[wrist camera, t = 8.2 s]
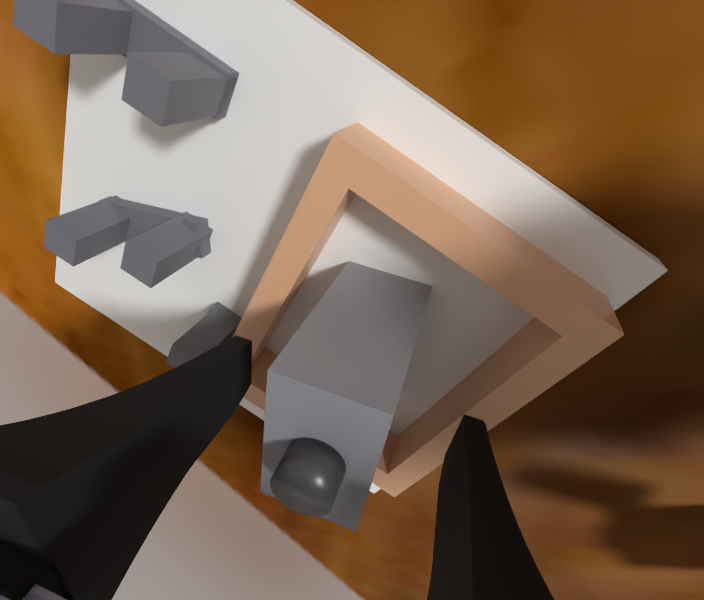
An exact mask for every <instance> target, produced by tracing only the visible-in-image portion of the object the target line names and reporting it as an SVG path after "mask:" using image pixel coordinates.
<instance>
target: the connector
mask: <svg viewBox="0 0 704 600" xmlns="http://www.w3.org/2000/svg"><path fill="white" fill-rule="evenodd" d="M431 289H432V286H431V285H427V284H424V283H421V282H417V281H414V280H411V279H407V278H404V277H401V276H397V275H394V274H390V273H387V272H384V271H380V270H377V269H374V268H370V267H367V266H364V265H360V264H357V263H354V262H350V261H349V262H348V263H347V264H346V266H345V267H344V268H343V270H342V271H341V272H340V274H339V275H338V276H337V278H336V279H335V280H334V282H333V283H332V284H331V286H330V287H329V288H328V290H327V291H326V292H325V294H324V295H323V296H322V298H321V299H320V300H319V302H318V303H317V304H316V306H315V307H314V308H313V310H312V311H311V312H310V314H309V315H308V316H307V318H306V319H305V320H304V322H303V323H302V325H301V326H300V327H299V329H298V330H297V331H296V333H295V334H294V335H293V337H292V338H291V339H290V341H289V342H288V343H287V345H286V346H285V347H284V349H283V350H282V351H281V353H280V354H279V355H278V357H277V358H276V359H275V361H274V362H273V363H272V365H271V366H270V367H269V369H268V370H267V386H266V403H265V420H264V438H263V455H262V472H261V489H260V492H262V493H264V494H266V495H269V496H271V497H274V498H276V499H278V500H279V501H280V502H281V503H282V504H284V505H285V506H286V507H288V508H289V509H291V510H293V511H295V512H297V513H300V514H303V515H306V516H311V517H321V518H324V519H326V520H329V521H331V522H333V523H336V524H338V525H340V526H343V527H345V528H348V529H350V530H352V531H355V532H356V529H357V526H358V523H359V520H360V517H361V514H362V511H363V508H364V505H365V502H366V499H367V496H368V493H369V490H370V487H371V484H372V481H373V478H374V475H375V472H376V469H377V466H378V463H379V460H380V457H381V454H382V451H383V448H384V444H385V441H386V438H387V435H388V432H389V429H390V426H391V423H392V420H393V417H394V414H395V411H396V407H397V404H398V400H399V397H400V394H401V390H402V387H403V384H404V380H405V377H406V373H407V370H408V367H409V363H410V360H411V357H412V353H413V350H414V346H415V343H416V340H417V336H418V333H419V330H420V326H421V323H422V319H423V316H424V313H425V309H426V306H427V303H428V299H429V296H430V292H431Z"/></svg>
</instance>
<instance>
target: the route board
mask: <svg viewBox="0 0 704 600" xmlns="http://www.w3.org/2000/svg"><path fill="white" fill-rule="evenodd" d="M14 26H15V27H16V28H18V29H19V30H20V31H22V32H23V33H25V34H26V35H28V36H29V37H31V38H32V39H34V40H35V41H36V42H38V43H39V44H41V45H42V46H44V47H45V48H47V49H48V50H50V51H51V52H53V53H54V54H71V56H70V71H69V85H68V100H67V114H66V129H65V144H64V158H63V173H62V187H61V202H60V215H59V216H56V217H54V218H51V219H48V220H45V240H44V247H45V248H46V249H48V250H49V251H51V252H52V253H54V254H55V255H57V260H56V274H55V283H57V284H58V285H60V286H61V287H63V288H64V289H66V290H67V291H69V292H70V293H72V294H73V295H75V296H76V297H78V298H79V299H81V300H82V301H84V302H85V303H87V304H88V305H90V306H92V307H93V308H95V309H96V310H98V311H99V312H101V313H102V314H104V315H105V316H107V317H108V318H110V319H111V320H113V321H114V322H116V323H117V324H119V325H120V326H122V327H123V328H125V329H126V330H128V331H129V332H131V333H132V334H134V335H135V336H137V337H138V338H140V339H141V340H143V341H144V342H146V343H147V344H149V345H150V346H152V347H153V348H155V349H156V350H158V351H159V352H161V353H162V354H164V355H165V356H167V357H168V358H167V361H166V364H168V365H169V366H171V367H172V368H176V367H178V366H180V365H182V364H184V363H186V362H188V361H189V360H191V359H193V358H195V357H197V356H199V355H201V354H203V353H204V352H206V351H208V350H210V349H212V348H214V347H215V346H217V345H219V344H221V343H223V342H224V341H226V340H228V339H230V338H232V337H233V335H234V333H235V331H236V329H237V327H238V325H239V323H240V321H241V319H242V317H243V315H244V313H245V311H246V309H247V307H248V305H249V303H250V301H251V299H252V297H253V295H254V293H255V291H256V289H257V287H258V285H259V283H260V281H261V279H262V277H263V275H264V273H265V271H266V269H267V267H268V265H269V263H270V261H271V259H272V257H273V255H274V253H275V251H276V249H277V247H278V245H279V243H280V241H281V239H282V237H283V235H284V233H285V231H286V229H287V227H288V225H289V223H290V221H291V219H292V217H293V215H294V213H295V211H296V209H297V207H298V205H299V203H300V201H301V199H302V197H303V195H304V193H305V191H306V189H307V187H308V184H309V182H310V180H311V178H312V176H313V174H314V172H315V170H316V168H317V166H318V164H319V162H320V160H321V158H322V156H323V154H324V152H325V150H326V148H327V146H328V144H329V142H330V140H331V138H332V136H333V134H334V132H336V131H339V130H341V129H343V128H345V127H348V126H350V125H352V124H354V123H357V122H358V123H360V124H361V125H363V126H364V127H366V128H367V129H368V130H370V131H371V132H373V133H374V134H376V135H377V136H378V137H380V138H381V139H383V140H384V141H386V142H387V143H388V144H390V145H391V146H393V147H394V148H396V149H397V150H398V151H400V152H401V153H403V154H404V155H406V156H407V157H408V158H410V159H411V160H413V161H414V162H416V163H417V164H418V165H420V166H421V167H423V168H424V169H426V170H427V171H428V172H430V173H431V174H433V175H434V176H436V177H437V178H438V179H440V180H441V181H443V182H444V183H446V184H447V185H448V186H450V187H451V188H453V189H454V190H456V191H457V192H458V193H460V194H461V195H463V196H464V197H466V198H467V199H468V200H470V201H471V202H473V203H474V204H476V205H477V206H478V207H480V208H481V209H483V210H484V211H486V212H487V213H488V214H490V215H491V216H493V217H494V218H496V219H497V220H498V221H500V222H501V223H503V224H504V225H506V226H507V227H508V228H510V229H511V230H513V231H514V232H516V233H517V234H518V235H520V236H521V237H523V238H524V239H526V240H527V241H528V242H530V243H531V244H533V245H534V246H536V247H537V248H538V249H540V250H541V251H543V252H544V253H546V254H547V255H548V256H550V257H551V258H553V259H554V260H556V261H557V262H558V263H560V264H561V265H563V266H564V267H566V268H567V269H568V270H570V271H571V272H573V273H574V274H576V275H577V276H578V277H580V278H581V279H583V280H584V281H586V282H587V283H589V284H590V285H591V286H593V287H594V288H596V289H597V290H599V291H600V292H601V293H603V294H604V295H606V296H607V297H608V299H609V301H610V303H611V306H612V308H613V310H614V311H615V310H617V309H618V308H619V307H621V306H622V305H623V304H625V303H626V302H627V301H629V300H630V299H631V298H633V297H634V296H635V295H636V294H638V293H639V292H640V291H642V290H643V289H644V288H646V287H647V286H648V285H650V284H651V283H652V282H654V281H655V280H656V279H658V278H659V277H660V276H662V275H663V274H664V273H665V272H667V271H668V270H667V269H666V268H665V266H664V265H663V264H662V263H661V261H660V260H659V259H658V258H657V257H655V256H654V255H652V254H651V253H650V252H648V251H647V250H645V249H644V248H642V247H641V246H640V245H638V244H637V243H635V242H634V241H633V240H631V239H630V238H628V237H627V236H626V235H624V234H623V233H621V232H620V231H618V230H617V229H616V228H614V227H613V226H611V225H610V224H609V223H607V222H606V221H604V220H603V219H601V218H600V217H599V216H597V215H596V214H594V213H593V212H592V211H590V210H589V209H587V208H586V207H585V206H583V205H582V204H580V203H579V202H577V201H576V200H575V199H573V198H572V197H570V196H569V195H568V194H566V193H565V192H563V191H562V190H560V189H559V188H558V187H556V186H555V185H553V184H552V183H551V182H549V181H548V180H546V179H545V178H544V177H542V176H541V175H539V174H538V173H536V172H535V171H534V170H532V169H531V168H529V167H528V166H527V165H525V164H524V163H522V162H521V161H520V160H518V159H517V158H515V157H514V156H512V155H511V154H510V153H508V152H507V151H505V150H504V149H503V148H501V147H500V146H498V145H497V144H495V143H494V142H493V141H491V140H490V139H488V138H487V137H486V136H484V135H483V134H481V133H480V132H479V131H477V130H476V129H474V128H473V127H471V126H470V125H469V124H467V123H466V122H464V121H463V120H462V119H460V118H459V117H457V116H456V115H454V114H453V113H452V112H450V111H449V110H447V109H446V108H445V107H443V106H442V105H440V104H439V103H438V102H436V101H435V100H433V99H432V98H430V97H429V96H428V95H426V94H425V93H423V92H422V91H421V90H419V89H418V88H416V87H415V86H413V85H412V84H411V83H409V82H408V81H406V80H405V79H404V78H402V77H401V76H399V75H398V74H397V73H395V72H394V71H392V70H391V69H389V68H388V67H387V66H385V65H384V64H382V63H381V62H380V61H378V60H377V59H375V58H374V57H372V56H371V55H370V54H368V53H367V52H365V51H364V50H363V49H361V48H360V47H358V46H357V45H356V44H354V43H353V42H351V41H350V40H348V39H347V38H346V37H344V36H343V35H341V34H340V33H339V32H337V31H336V30H334V29H333V28H331V27H330V26H329V25H327V24H326V23H324V22H323V21H322V20H320V19H319V18H317V17H316V16H315V15H313V14H312V13H310V12H309V11H307V10H306V9H305V8H303V7H302V6H300V5H299V4H298V3H296V2H295V1H293V0H14ZM349 261H350V262H354V263H357V264H360V265H364V266H367V267H370V268H374V269H377V270H380V271H384V272H387V273H390V274H394V275H397V276H401V277H404V278H407V279H411V280H414V281H417V282H421V283H424V284H427V285H431V286H432V289H431V292H430V296H429V299H428V303H427V306H426V309H425V313H424V316H423V319H422V323H421V326H420V330H419V333H418V336H417V340H416V343H415V346H414V350H413V353H412V357H411V360H410V363H409V367H408V370H407V373H406V377H405V380H404V384H403V387H402V390H401V394H400V397H399V400H398V404H397V407H396V411H395V414H394V417H393V420H392V423H391V426H390V429H389V430H390V431H391V432H393V433H394V434H396V435H397V436H398V435H399V434H400V433H401V432H403V431H404V430H405V429H406V428H407V427H408V426H410V425H411V424H412V423H413V422H414V421H415V420H416V419H418V418H419V417H420V416H421V415H422V414H423V413H425V412H426V411H427V410H428V409H429V408H430V407H432V406H433V405H434V404H435V403H436V402H437V401H438V400H440V399H441V398H442V397H443V396H444V395H445V394H447V393H448V392H449V391H450V390H451V389H452V388H454V387H455V386H456V385H457V384H458V383H459V382H460V381H462V380H463V379H464V378H465V377H466V376H467V375H469V374H470V373H471V372H472V371H473V370H474V369H475V368H477V367H478V366H479V365H480V364H481V363H482V362H484V361H485V360H486V359H487V358H488V357H489V356H491V355H492V354H493V353H494V352H495V351H496V350H497V349H499V348H500V347H501V346H502V345H503V344H504V343H506V342H507V341H508V340H509V339H510V338H511V337H513V336H514V335H515V334H516V333H517V332H518V331H519V330H521V329H522V328H523V327H524V326H525V325H526V324H528V323H529V322H530V321H531V320H532V319H533V318H534V316H532V315H531V314H529V313H528V312H526V311H525V310H524V309H522V308H521V307H519V306H518V305H516V304H515V303H513V302H512V301H511V300H509V299H508V298H506V297H505V296H503V295H502V294H500V293H499V292H498V291H496V290H495V289H493V288H492V287H490V286H489V285H487V284H486V283H485V282H483V281H482V280H480V279H479V278H477V277H476V276H474V275H473V274H472V273H470V272H469V271H467V270H466V269H464V268H463V267H461V266H460V265H459V264H457V263H456V262H454V261H453V260H451V259H450V258H448V257H447V256H446V255H444V254H443V253H441V252H440V251H438V250H437V249H435V248H434V247H433V246H431V245H430V244H428V243H427V242H425V241H424V240H422V239H421V238H419V237H418V236H417V235H415V234H414V233H412V232H411V231H409V230H408V229H406V228H405V227H404V226H402V225H401V224H399V223H398V222H396V221H395V220H393V219H392V218H391V217H389V216H388V215H386V214H385V213H383V212H382V211H380V210H379V209H378V208H376V207H375V206H373V205H372V204H370V203H369V202H367V201H366V200H365V199H363V198H362V197H360V196H359V195H357V194H355V196H354V197H353V199H352V201H351V202H350V204H349V206H348V208H347V209H346V211H345V213H344V214H343V216H342V218H341V219H340V221H339V223H338V225H337V226H336V228H335V230H334V231H333V233H332V235H331V236H330V238H329V240H328V242H327V243H326V245H325V247H324V248H323V250H322V252H321V253H320V255H319V257H318V259H317V260H316V262H315V264H314V265H313V267H312V269H311V270H310V272H309V274H308V275H307V277H306V279H305V281H304V282H303V284H302V286H301V287H300V289H299V291H298V292H297V294H296V296H295V298H294V299H293V301H292V303H291V304H290V306H289V308H288V309H287V311H286V313H285V315H284V316H283V318H282V320H281V321H280V323H279V325H278V326H277V328H276V330H275V332H274V333H273V335H272V337H271V338H270V340H269V342H268V343H267V345H266V348H268V349H269V350H270V351H272V352H273V353H275V354H276V355H279V354H280V353H281V351H282V350H283V349H284V347H285V346H286V345H287V343H288V342H289V341H290V339H291V338H292V337H293V335H294V334H295V333H296V331H297V330H298V329H299V327H300V326H301V325H302V323H303V322H304V320H305V319H306V318H307V316H308V315H309V314H310V312H311V311H312V310H313V308H314V307H315V306H316V304H317V303H318V302H319V300H320V299H321V298H322V296H323V295H324V294H325V292H326V291H327V290H328V288H329V287H330V286H331V284H332V283H333V282H334V280H335V279H336V278H337V276H338V275H339V274H340V272H341V271H342V270H343V268H344V267H345V266H346V264H347V263H348V262H349ZM239 405H241V406H242V407H244V408H245V409H247V410H248V411H250V412H251V413H253V414H255V415H256V416H258V417H259V418H261V419H262V420H265V411H264V410H262V409H261V408H259V407H257V406H256V405H254V404H253V403H251V402H250V401H248V400H247V399H245V398H244V397H243V399H242V401H241V402H240V404H239ZM379 489H381V488H380V487H378V486H377V485H375V484H374V483H372V484H371V487H370V490H369V491H371V492H372V493H375V492H377V491H378V490H379Z"/></svg>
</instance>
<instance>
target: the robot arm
mask: <svg viewBox="0 0 704 600" xmlns="http://www.w3.org/2000/svg"><path fill="white" fill-rule="evenodd" d="M251 373H252V341H251V340H248V339H245V338H243V337H240V336H237V335H236V336H234V337H232V338H230V339H228V340H226V341H224V342H223V343H221V344H219V345H217V346H215V347H214V348H212V349H210V350H208V351H206V352H204V353H203V354H201V355H199V356H197V357H195V358H193V359H191V360H189V361H188V362H186V363H184V364H182V365H180V366H178V367H176V368H174V369H172V370H170V371H168V372H166V373H164V374H162V375H159V376H157V377H155V378H153V379H151V380H149V381H147V382H144V383H142V384H140V385H137V386H135V387H132V388H130V389H127V390H125V391H122V392H119V393H117V394H114V395H112V396H109V397H106V398H103V399H99V400H96V401H93V402H90V403H87V404H84V405H81V406H78V407H75V408H71V409H68V410H65V411H61V412H57V413H53V414H49V415H46V416H42V417H38V418H33V419H29V420H25V421H20V422H16V423H11V424H5V425H1V426H0V600H111V599H112V598H113V596H114V594H115V592H116V591H117V589H118V587H119V585H120V583H121V581H122V580H123V578H124V576H125V574H126V572H127V570H128V569H129V567H130V565H131V563H132V561H133V560H134V558H135V556H136V555H137V553H138V551H139V549H140V548H141V546H142V544H143V543H144V541H145V539H146V537H147V536H148V534H149V532H150V531H151V529H152V527H153V525H154V524H155V522H156V521H157V519H158V517H159V516H160V514H161V512H162V511H163V509H164V508H165V506H166V504H167V503H168V501H169V500H170V498H171V496H172V495H173V493H174V492H175V490H176V489H177V487H178V486H179V484H180V482H181V481H182V479H183V478H184V476H185V475H186V473H187V472H188V471H189V469H190V468H191V466H192V465H193V464H194V462H195V461H196V460H197V459H198V457H199V456H200V455H201V454H202V452H203V451H204V450H205V448H206V447H207V446H208V445H209V443H210V442H211V441H212V440H213V438H214V437H215V436H216V435H217V433H218V432H219V431H220V429H221V428H222V427H223V426H224V424H225V423H226V422H227V420H228V419H229V418H230V417H231V415H232V414H233V413H234V411H235V410H236V409H237V407H238V405H239V404H240V402H241V401H242V399H243V397H244V396H245V394H246V392H247V390H248V389H249V387H250V385H251ZM427 600H554V598H553V596H552V595H551V593H550V591H549V589H548V587H547V585H546V583H545V582H544V580H543V578H542V576H541V574H540V572H539V570H538V568H537V566H536V564H535V562H534V559H533V557H532V555H531V553H530V551H529V549H528V547H527V544H526V542H525V540H524V538H523V535H522V533H521V531H520V528H519V526H518V524H517V521H516V518H515V516H514V513H513V511H512V508H511V506H510V503H509V500H508V498H507V495H506V492H505V489H504V486H503V483H502V480H501V477H500V474H499V471H498V468H497V465H496V461H495V458H494V454H493V451H492V447H491V443H490V439H489V435H488V431H487V426H486V424H485V422H484V421H483V420H480V419H477V418H474V417H471V416H468V415H465V414H464V415H463V417H462V419H461V422H460V424H459V426H458V428H457V430H456V432H455V434H454V437H453V439H452V441H451V443H450V445H449V447H448V449H447V451H446V454H445V457H444V462H443V467H442V472H441V477H440V483H439V490H438V502H437V514H436V527H435V539H434V552H433V564H432V572H431V580H430V586H429V592H428V598H427Z"/></svg>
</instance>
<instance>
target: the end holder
mask: <svg viewBox="0 0 704 600" xmlns="http://www.w3.org/2000/svg"><path fill="white" fill-rule="evenodd" d="M355 194H357V195H359V196H360V197H362V198H363V199H365V200H366V201H367V202H369V203H370V204H372V205H373V206H375V207H376V208H378V209H379V210H380V211H382V212H383V213H385V214H386V215H388V216H389V217H391V218H392V219H393V220H395V221H396V222H398V223H399V224H401V225H402V226H404V227H405V228H406V229H408V230H409V231H411V232H412V233H414V234H415V235H417V236H418V237H419V238H421V239H422V240H424V241H425V242H427V243H428V244H430V245H431V246H433V247H434V248H435V249H437V250H438V251H440V252H441V253H443V254H444V255H446V256H447V257H448V258H450V259H451V260H453V261H454V262H456V263H457V264H459V265H460V266H461V267H463V268H464V269H466V270H467V271H469V272H470V273H472V274H473V275H474V276H476V277H477V278H479V279H480V280H482V281H483V282H485V283H486V284H487V285H489V286H490V287H492V288H493V289H495V290H496V291H498V292H499V293H500V294H502V295H503V296H505V297H506V298H508V299H509V300H511V301H512V302H513V303H515V304H516V305H518V306H519V307H521V308H522V309H524V310H525V311H526V312H528V313H529V314H531V315H532V316H534V318H533V319H532V320H531V321H530V322H529V323H528V324H526V325H525V326H524V327H523V328H522V329H521V330H519V331H518V332H517V333H516V334H515V335H514V336H513V337H511V338H510V339H509V340H508V341H507V342H506V343H504V344H503V345H502V346H501V347H500V348H499V349H497V350H496V351H495V352H494V353H493V354H492V355H491V356H489V357H488V358H487V359H486V360H485V361H484V362H482V363H481V364H480V365H479V366H478V367H477V368H475V369H474V370H473V371H472V372H471V373H470V374H469V375H467V376H466V377H465V378H464V379H463V380H462V381H460V382H459V383H458V384H457V385H456V386H455V387H454V388H452V389H451V390H450V391H449V392H448V393H447V394H445V395H444V396H443V397H442V398H441V399H440V400H438V401H437V402H436V403H435V404H434V405H433V406H432V407H430V408H429V409H428V410H427V411H426V412H425V413H423V414H422V415H421V416H420V417H419V418H418V419H416V420H415V421H414V422H413V423H412V424H411V425H410V426H408V427H407V428H406V429H405V430H404V431H403V432H401V433H400V434H399V435H398V436H397V435H396V434H394V433H393V432H391V431H390V430H389V432H388V435H387V438H386V441H385V444H384V448H383V451H382V454H381V457H380V460H379V463H378V466H377V469H376V472H375V475H374V478H373V481H372V483H374V484H375V485H377V486H378V487H380V488H381V489H383V490H384V491H386V492H387V493H389V494H390V495H392V496H393V497H396V496H397V495H398V494H400V493H401V492H403V491H404V490H406V489H407V488H408V487H410V486H411V485H413V484H414V483H415V482H417V481H418V480H420V479H421V478H423V477H424V476H425V475H427V474H428V473H430V472H431V471H432V470H434V469H435V468H437V467H438V466H440V465H441V464H442V463H443V462H444V457H445V454H446V451H447V449H448V447H449V445H450V443H451V441H452V439H453V437H454V434H455V432H456V430H457V428H458V426H459V424H460V422H461V419H462V417H463V415H464V414H465V415H468V416H471V417H474V418H477V419H480V420H483V421H484V422H485V424H486V426H487V431H489V430H490V429H492V428H493V427H495V426H496V425H498V424H499V423H500V422H502V421H503V420H505V419H506V418H507V417H509V416H510V415H512V414H513V413H515V412H516V411H517V410H519V409H520V408H522V407H523V406H524V405H526V404H527V403H529V402H530V401H531V400H533V399H534V398H536V397H537V396H539V395H540V394H541V393H543V392H544V391H546V390H547V389H548V388H550V387H551V386H553V385H554V384H556V383H557V382H558V381H560V380H561V379H563V378H564V377H565V376H567V375H568V374H570V373H571V372H573V371H574V370H575V369H577V368H578V367H580V366H581V365H582V364H584V363H585V362H587V361H588V360H590V359H591V358H592V357H594V356H595V355H597V354H598V353H599V352H601V351H602V350H604V349H605V348H606V347H608V346H609V345H611V344H612V343H614V342H615V341H616V340H618V339H619V338H621V337H622V336H623V335H625V334H624V332H623V330H622V328H621V325H620V323H619V321H618V319H617V317H616V314H615V312H614V310H613V308H612V306H611V303H610V301H609V299H608V297H607V296H606V295H604V294H603V293H601V292H600V291H599V290H597V289H596V288H594V287H593V286H591V285H590V284H589V283H587V282H586V281H584V280H583V279H581V278H580V277H578V276H577V275H576V274H574V273H573V272H571V271H570V270H568V269H567V268H566V267H564V266H563V265H561V264H560V263H558V262H557V261H556V260H554V259H553V258H551V257H550V256H548V255H547V254H546V253H544V252H543V251H541V250H540V249H538V248H537V247H536V246H534V245H533V244H531V243H530V242H528V241H527V240H526V239H524V238H523V237H521V236H520V235H518V234H517V233H516V232H514V231H513V230H511V229H510V228H508V227H507V226H506V225H504V224H503V223H501V222H500V221H498V220H497V219H496V218H494V217H493V216H491V215H490V214H488V213H487V212H486V211H484V210H483V209H481V208H480V207H478V206H477V205H476V204H474V203H473V202H471V201H470V200H468V199H467V198H466V197H464V196H463V195H461V194H460V193H458V192H457V191H456V190H454V189H453V188H451V187H450V186H448V185H447V184H446V183H444V182H443V181H441V180H440V179H438V178H437V177H436V176H434V175H433V174H431V173H430V172H428V171H427V170H426V169H424V168H423V167H421V166H420V165H418V164H417V163H416V162H414V161H413V160H411V159H410V158H408V157H407V156H406V155H404V154H403V153H401V152H400V151H398V150H397V149H396V148H394V147H393V146H391V145H390V144H388V143H387V142H386V141H384V140H383V139H381V138H380V137H378V136H377V135H376V134H374V133H373V132H371V131H370V130H368V129H367V128H366V127H364V126H363V125H361V124H360V123H358V122H357V123H354V124H352V125H350V126H348V127H345V128H343V129H341V130H339V131H336V132H334V134H333V136H332V138H331V140H330V142H329V144H328V146H327V148H326V150H325V152H324V154H323V156H322V158H321V160H320V162H319V164H318V166H317V168H316V170H315V172H314V174H313V176H312V178H311V180H310V182H309V184H308V187H307V189H306V191H305V193H304V195H303V197H302V199H301V201H300V203H299V205H298V207H297V209H296V211H295V213H294V215H293V217H292V219H291V221H290V223H289V225H288V227H287V229H286V231H285V233H284V235H283V237H282V239H281V241H280V243H279V245H278V247H277V249H276V251H275V253H274V255H273V257H272V259H271V261H270V263H269V265H268V267H267V269H266V271H265V273H264V275H263V277H262V279H261V281H260V283H259V285H258V287H257V289H256V291H255V293H254V295H253V297H252V299H251V301H250V303H249V305H248V307H247V309H246V311H245V313H244V315H243V317H242V319H241V321H240V323H239V325H238V327H237V329H236V331H235V333H234V335H233V337H234V336H236V335H237V336H240V337H243V338H245V339H248V340H251V341H252V373H251V385H250V387H249V389H248V390H247V392H246V394H245V396H244V398H245V399H247V400H248V401H250V402H251V403H253V404H254V405H256V406H257V407H259V408H261V409H262V410H264V411H265V403H266V386H267V370H268V369H269V367H270V366H271V365H272V363H273V362H274V361H275V359H276V358H277V357H278V355H276V354H275V353H273V352H272V351H270V350H269V349H268V348H266V345H267V343H268V342H269V340H270V338H271V337H272V335H273V333H274V332H275V330H276V328H277V326H278V325H279V323H280V321H281V320H282V318H283V316H284V315H285V313H286V311H287V309H288V308H289V306H290V304H291V303H292V301H293V299H294V298H295V296H296V294H297V292H298V291H299V289H300V287H301V286H302V284H303V282H304V281H305V279H306V277H307V275H308V274H309V272H310V270H311V269H312V267H313V265H314V264H315V262H316V260H317V259H318V257H319V255H320V253H321V252H322V250H323V248H324V247H325V245H326V243H327V242H328V240H329V238H330V236H331V235H332V233H333V231H334V230H335V228H336V226H337V225H338V223H339V221H340V219H341V218H342V216H343V214H344V213H345V211H346V209H347V208H348V206H349V204H350V202H351V201H352V199H353V197H354V196H355Z"/></svg>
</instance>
